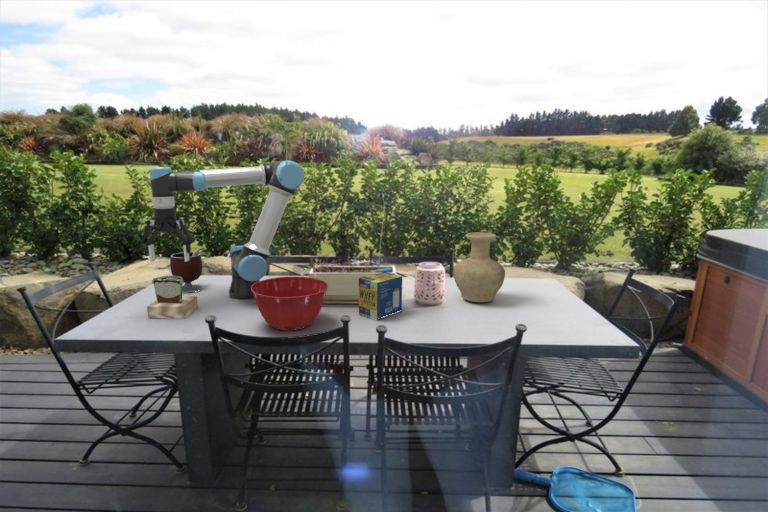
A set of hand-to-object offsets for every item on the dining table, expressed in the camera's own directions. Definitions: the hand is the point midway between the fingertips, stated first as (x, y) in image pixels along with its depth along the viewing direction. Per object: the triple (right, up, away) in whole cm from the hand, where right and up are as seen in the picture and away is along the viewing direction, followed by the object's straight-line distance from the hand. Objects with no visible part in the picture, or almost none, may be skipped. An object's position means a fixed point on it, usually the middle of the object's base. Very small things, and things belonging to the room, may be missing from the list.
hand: (170, 261), depth 180 cm
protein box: (+84, -22, +6) cm, 87 cm away
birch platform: (0, -21, +4) cm, 22 cm away
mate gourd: (-8, -14, +37) cm, 41 cm away
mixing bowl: (+50, -24, -7) cm, 56 cm away
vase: (+127, -18, +24) cm, 131 cm away
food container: (0, -16, +3) cm, 17 cm away
